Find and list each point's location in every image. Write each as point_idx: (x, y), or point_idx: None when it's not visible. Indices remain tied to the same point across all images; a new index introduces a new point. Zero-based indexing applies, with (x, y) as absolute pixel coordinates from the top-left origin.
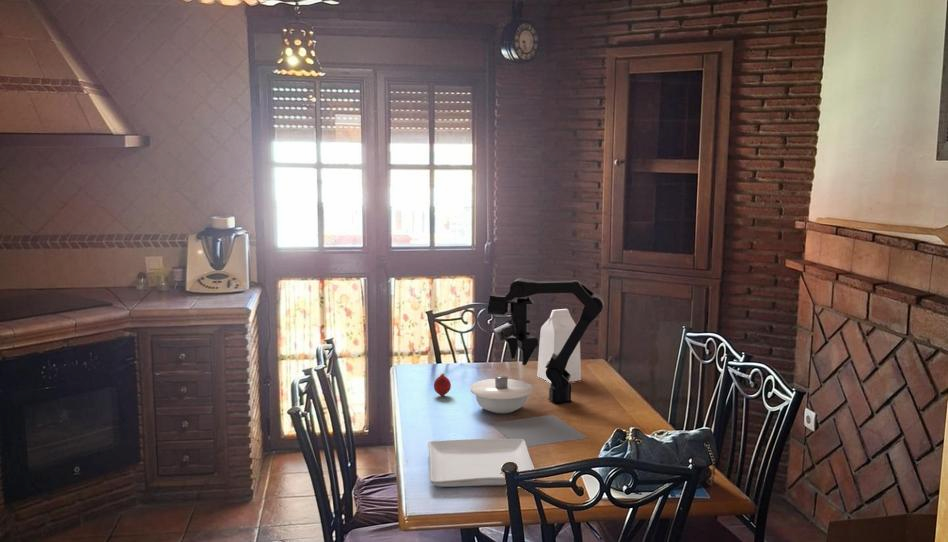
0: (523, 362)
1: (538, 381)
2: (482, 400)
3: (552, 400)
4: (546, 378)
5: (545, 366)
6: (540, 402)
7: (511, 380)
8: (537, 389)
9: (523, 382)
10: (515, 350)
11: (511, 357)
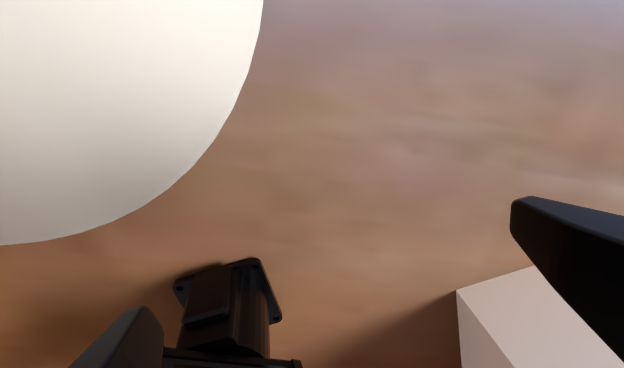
0: (95, 350)
1: (519, 249)
2: None
3: (193, 279)
4: (513, 285)
5: (569, 323)
6: (222, 222)
7: (189, 96)
8: (417, 233)
9: (126, 195)
10: (614, 333)
11: (523, 203)
